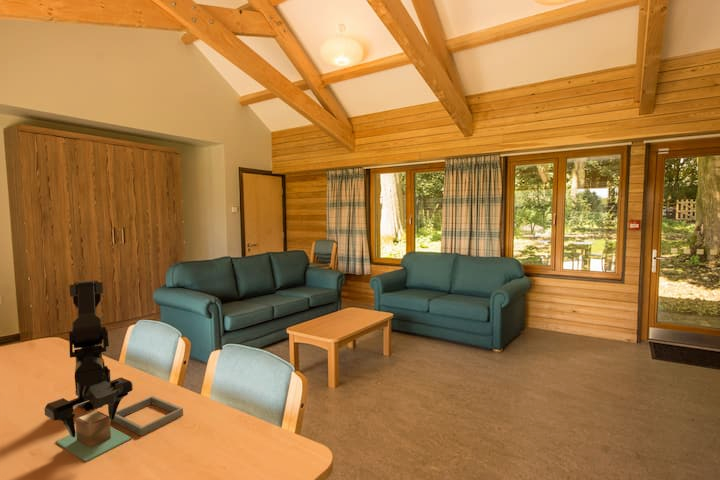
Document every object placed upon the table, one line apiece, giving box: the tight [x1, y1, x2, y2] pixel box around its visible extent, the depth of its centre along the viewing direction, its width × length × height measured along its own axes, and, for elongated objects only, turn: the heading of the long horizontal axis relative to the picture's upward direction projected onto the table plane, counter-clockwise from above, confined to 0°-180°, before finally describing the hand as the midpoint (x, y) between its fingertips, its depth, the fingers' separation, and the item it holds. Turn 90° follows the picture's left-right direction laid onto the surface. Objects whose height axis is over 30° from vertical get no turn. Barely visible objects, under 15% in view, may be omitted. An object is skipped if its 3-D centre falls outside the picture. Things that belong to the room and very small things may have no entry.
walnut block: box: [75, 409, 111, 448], centre depth 103 cm, size 5×7×6 cm
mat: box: [55, 426, 132, 463], centre depth 103 cm, size 16×11×1 cm
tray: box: [111, 395, 184, 437], centre depth 114 cm, size 16×13×2 cm
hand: (93, 428), depth 103 cm, fingers open, 9 cm apart
